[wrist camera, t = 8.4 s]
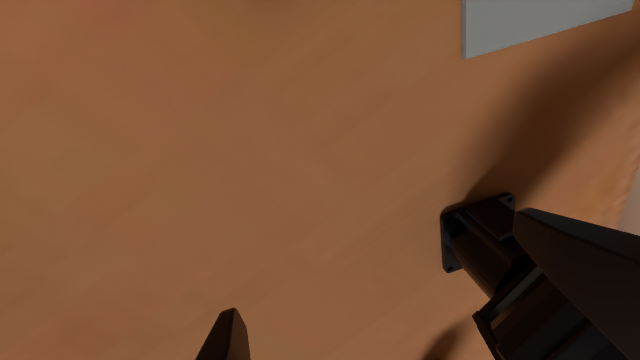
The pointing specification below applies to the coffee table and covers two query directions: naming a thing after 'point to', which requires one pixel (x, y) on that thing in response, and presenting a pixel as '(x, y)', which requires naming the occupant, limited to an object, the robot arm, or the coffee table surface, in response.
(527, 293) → the robot arm
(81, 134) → the coffee table surface
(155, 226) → the coffee table surface
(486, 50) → the mat
